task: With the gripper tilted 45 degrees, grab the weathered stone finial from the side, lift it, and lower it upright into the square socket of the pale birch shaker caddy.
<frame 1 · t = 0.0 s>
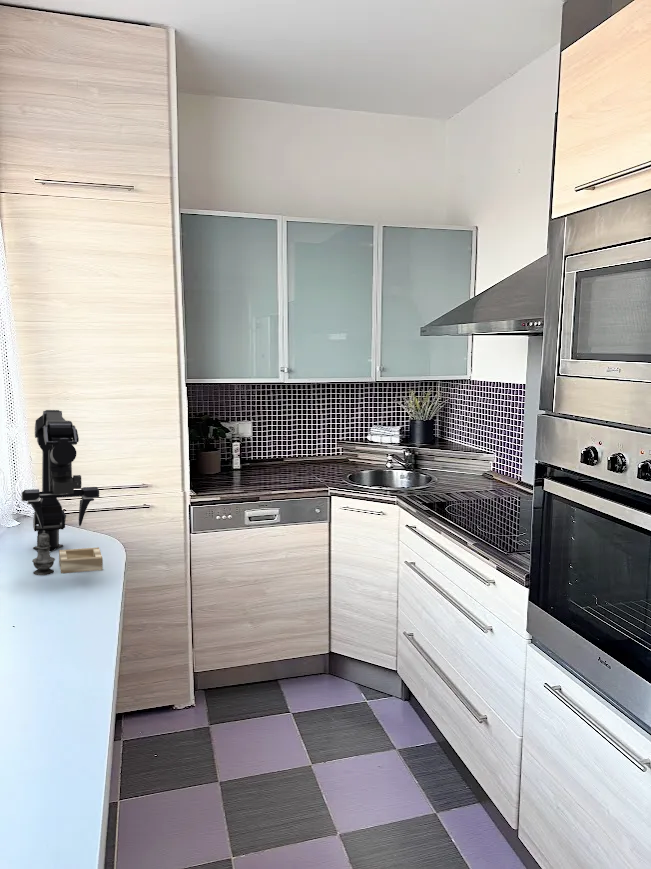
hand: (61, 527, 174), 15 cm above the table, tool pointing down, fingers open, 9 cm apart
shaker caddy: (80, 565, 191), on the table
weathered stone finial: (43, 573, 184), on the table
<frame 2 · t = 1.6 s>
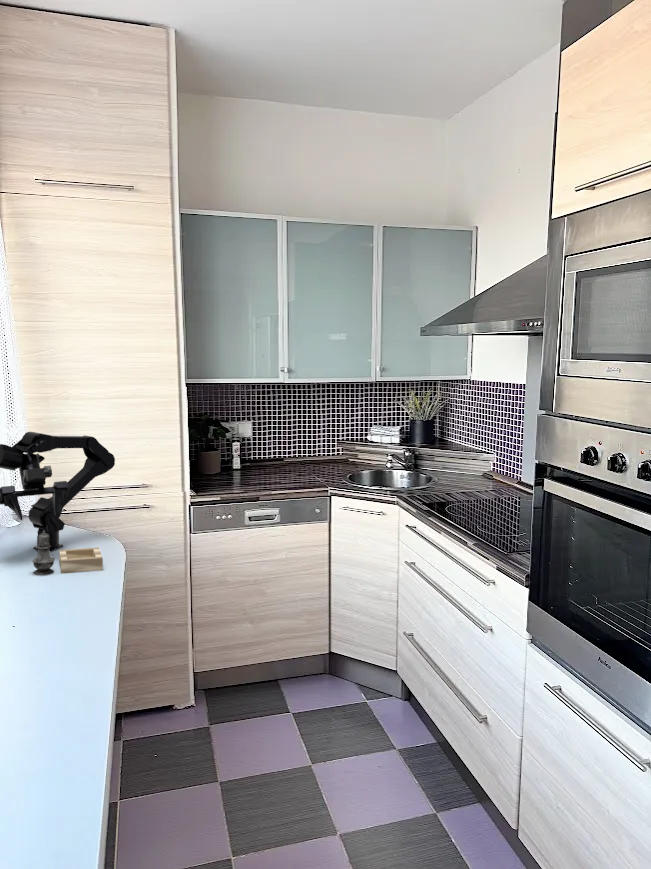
hand: (39, 517, 189), 14 cm above the table, tool tilted 45°, fingers open, 9 cm apart
nothing on the table moved.
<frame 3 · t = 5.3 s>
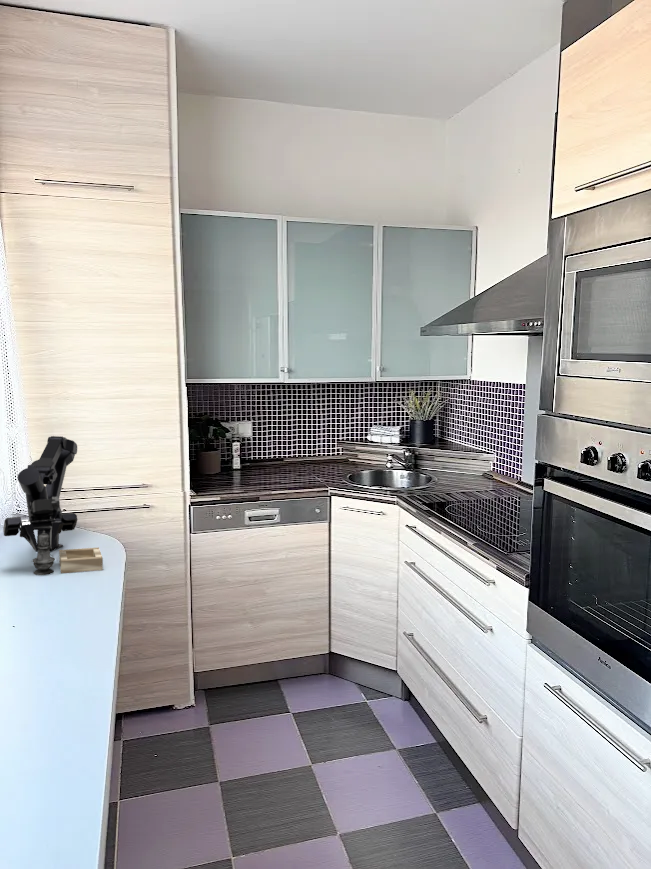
hand: (44, 550, 182), 7 cm above the table, tool tilted 45°, fingers closed on weathered stone finial, 4 cm apart
weathered stone finial: (43, 572, 184), on the table, touching gripper
when the fingers open (9 cm above the table, at t = 8.7 s): weathered stone finial drops 1 cm, resting on shaker caddy.
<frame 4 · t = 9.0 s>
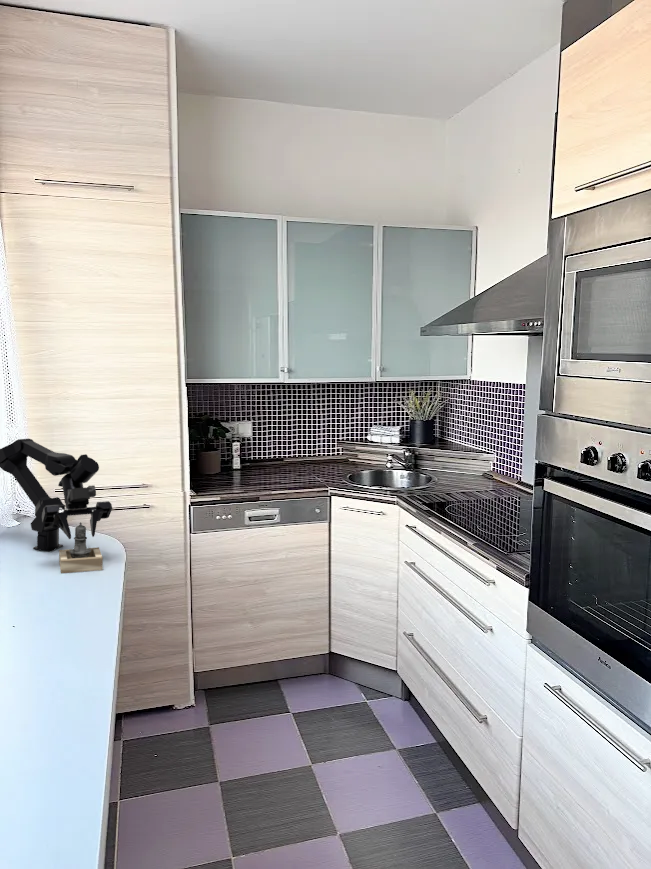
hand: (82, 537, 188), 9 cm above the table, tool tilted 45°, fingers open, 6 cm apart
weathered stone finial: (80, 563, 191), point 1 cm above the table, touching shaker caddy
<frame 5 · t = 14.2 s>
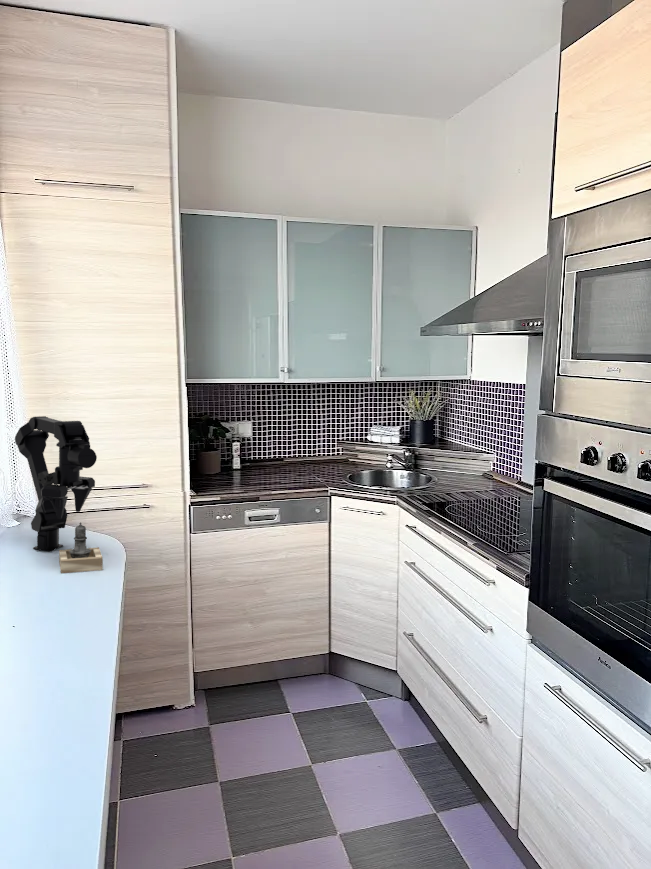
hand: (68, 515, 196), 13 cm above the table, tool pointing down, fingers open, 9 cm apart
nothing on the table moved.
at the end: weathered stone finial 0.2 cm off-centre on the shaker caddy, point 0.6 cm above the shaker caddy's base; weathered stone finial tilted 0°; the gripper is holding nothing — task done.
